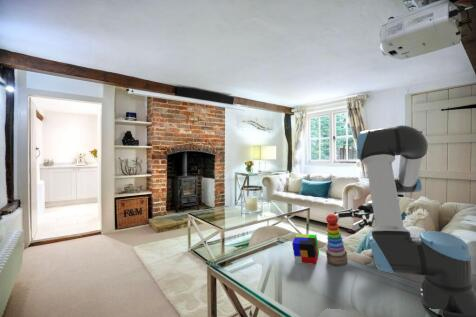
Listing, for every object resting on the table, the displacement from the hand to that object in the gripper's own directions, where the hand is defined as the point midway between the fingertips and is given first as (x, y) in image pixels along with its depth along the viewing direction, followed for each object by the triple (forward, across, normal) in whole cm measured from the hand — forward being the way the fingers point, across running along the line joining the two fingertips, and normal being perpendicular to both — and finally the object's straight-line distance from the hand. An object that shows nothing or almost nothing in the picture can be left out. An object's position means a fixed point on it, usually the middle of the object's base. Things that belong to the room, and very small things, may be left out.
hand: (340, 223), depth 112 cm
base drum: (+6, 0, -16) cm, 17 cm away
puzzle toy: (+14, +12, -16) cm, 24 cm away
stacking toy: (+6, 0, -12) cm, 14 cm away
